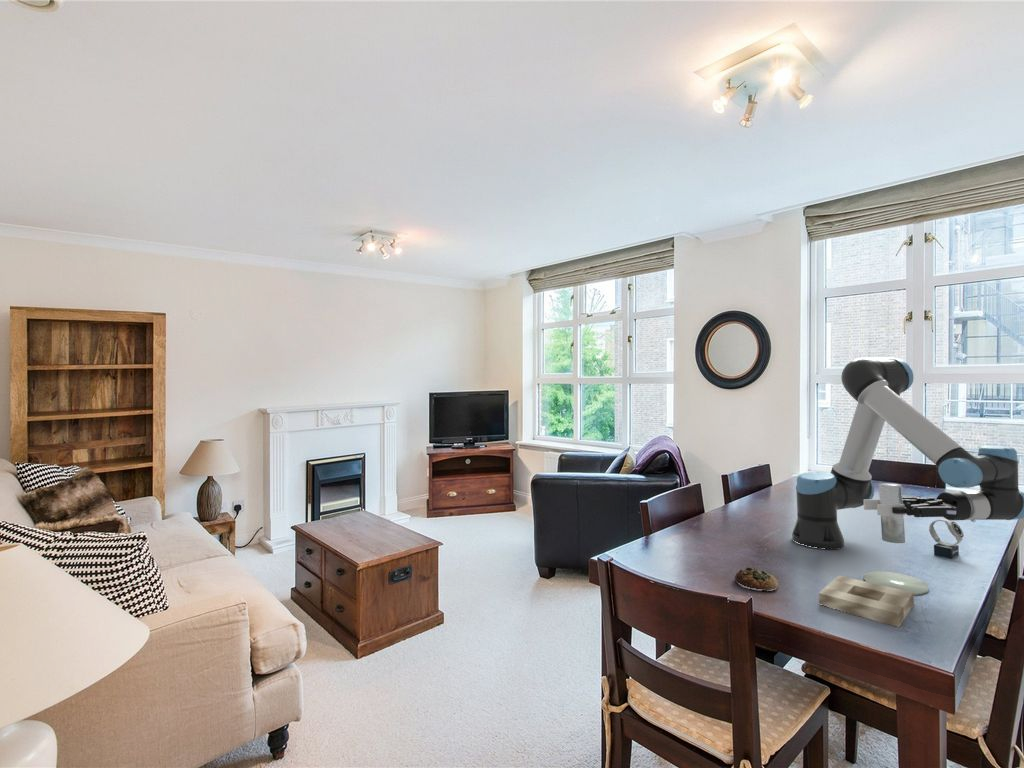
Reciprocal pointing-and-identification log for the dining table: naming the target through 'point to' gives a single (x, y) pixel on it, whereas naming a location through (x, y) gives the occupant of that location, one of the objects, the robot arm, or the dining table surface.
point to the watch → (947, 548)
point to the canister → (892, 523)
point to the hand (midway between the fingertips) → (871, 507)
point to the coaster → (897, 581)
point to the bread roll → (756, 579)
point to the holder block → (868, 600)
